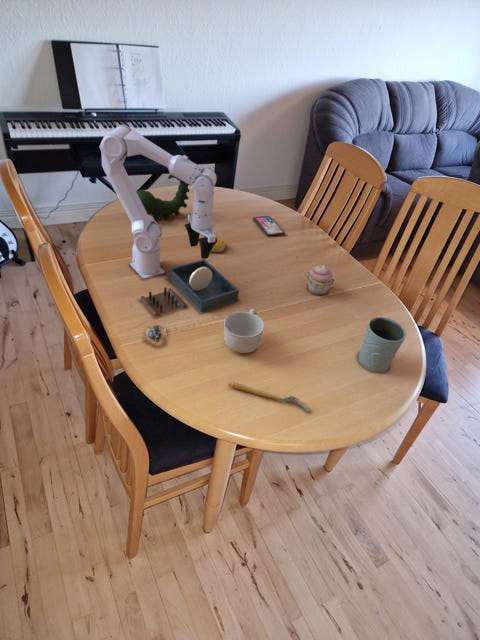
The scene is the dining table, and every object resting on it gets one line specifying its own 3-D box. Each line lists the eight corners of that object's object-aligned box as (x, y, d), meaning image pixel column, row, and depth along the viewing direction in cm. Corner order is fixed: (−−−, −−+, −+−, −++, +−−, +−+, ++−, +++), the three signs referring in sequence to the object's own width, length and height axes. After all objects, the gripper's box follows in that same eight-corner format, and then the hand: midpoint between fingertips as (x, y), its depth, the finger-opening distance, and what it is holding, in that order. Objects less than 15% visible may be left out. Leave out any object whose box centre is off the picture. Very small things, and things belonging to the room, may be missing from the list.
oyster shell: (165, 326, 123) (165, 320, 122) (172, 345, 117) (172, 339, 116) (141, 329, 121) (141, 324, 119) (147, 348, 115) (147, 343, 114)
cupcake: (311, 278, 152) (318, 253, 146) (335, 289, 149) (343, 264, 142) (298, 289, 146) (305, 264, 140) (323, 301, 142) (331, 276, 136)
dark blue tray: (168, 279, 141) (168, 268, 138) (203, 269, 148) (204, 259, 145) (200, 313, 129) (201, 302, 127) (237, 300, 137) (239, 290, 134)
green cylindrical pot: (369, 377, 118) (384, 344, 110) (348, 352, 124) (360, 319, 117) (398, 369, 122) (414, 337, 114) (376, 345, 128) (390, 313, 121)
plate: (190, 293, 137) (187, 273, 131) (211, 281, 140) (209, 262, 134) (192, 294, 136) (188, 275, 130) (213, 283, 139) (211, 264, 133)
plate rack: (140, 300, 130) (140, 292, 128) (170, 291, 136) (170, 283, 134) (155, 317, 125) (155, 309, 123) (185, 307, 130) (185, 299, 128)
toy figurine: (179, 213, 181) (118, 213, 169) (186, 168, 170) (121, 164, 158) (187, 224, 174) (124, 224, 163) (194, 178, 163) (127, 175, 152)
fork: (229, 385, 107) (310, 407, 104) (232, 379, 108) (311, 401, 105) (229, 390, 109) (308, 412, 106) (231, 384, 110) (309, 406, 107)
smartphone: (268, 234, 171) (253, 216, 181) (267, 236, 172) (252, 218, 182) (285, 232, 174) (269, 215, 184) (284, 235, 174) (269, 217, 185)
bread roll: (212, 255, 155) (213, 245, 153) (197, 244, 160) (197, 234, 158) (229, 249, 160) (231, 240, 158) (214, 239, 165) (215, 229, 162)
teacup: (247, 364, 115) (251, 342, 110) (213, 346, 119) (216, 324, 114) (271, 337, 125) (277, 315, 120) (240, 321, 129) (243, 300, 124)
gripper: (226, 221, 125) (221, 261, 134) (203, 199, 134) (200, 238, 143) (204, 224, 122) (200, 265, 130) (182, 202, 131) (180, 242, 139)
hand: (199, 251), depth 136 cm, fingers open, 7 cm apart
